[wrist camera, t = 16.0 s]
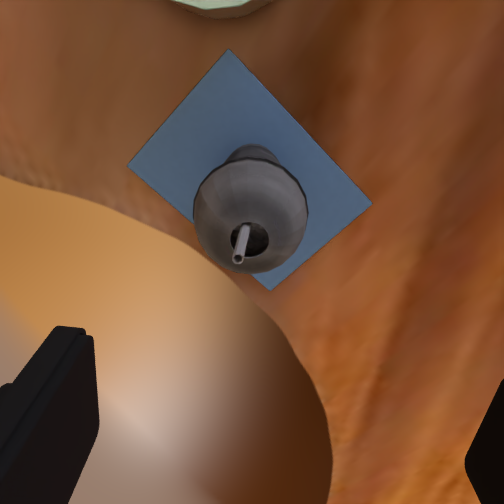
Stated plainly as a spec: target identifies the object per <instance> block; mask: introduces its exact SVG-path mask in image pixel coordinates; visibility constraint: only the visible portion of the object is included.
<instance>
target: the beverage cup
mask: <svg viewBox="0 0 504 504" xmlns="http://www.w3.org/2000/svg"><path fill="white" fill-rule="evenodd" d="M308 214H309V211H308V205H307V198H306V194H305V192H304V190H303V189H302V187H301V185H300V183H299V181H298V179H297V178H296V177H294V176H293V175H292V174H291V173H290V172H289V171H288V170H287V169H286V168H285V167H283V166H282V165H281V164H280V162H279V161H278V159H277V157H276V156H275V155H274V154H273V153H272V152H271V151H270V150H269V149H268V148H266V147H264V146H262V145H260V144H253V143H250V144H246V145H242V146H241V147H239V148H237V149H236V150H235V151H233V152H232V153H231V155H230V156H229V157H228V158H227V159H226V161H225V162H224V163H223V164H222V165H220V166H218V167H216V168H215V169H213V170H212V171H211V172H210V173H209V174H208V175H207V176H206V178H205V179H204V180H203V181H202V182H201V183H200V185H199V188H198V190H197V193H196V195H195V198H194V202H193V220H194V226H195V229H196V233H197V236H198V240H199V242H200V244H201V245H202V247H203V248H204V250H205V251H206V253H207V254H208V256H209V257H210V258H211V259H213V260H214V261H215V262H216V263H218V264H219V265H220V266H222V267H224V268H226V269H229V270H231V271H234V272H236V273H244V274H257V273H263V272H268V271H270V270H272V269H274V268H276V267H278V266H280V265H282V264H283V263H284V262H285V261H286V260H288V259H289V258H290V257H291V256H292V255H293V254H294V253H295V252H296V250H297V248H298V246H299V244H300V243H301V241H302V239H303V237H304V233H305V230H306V225H307V219H308Z"/></svg>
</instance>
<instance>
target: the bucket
mask: <svg viewBox="0 0 504 504" xmlns="http://www.w3.org/2000/svg"><path fill="white" fill-rule="evenodd" d="M171 1H172V2H174V3H176V4H177V5H179V6H180V7H182V8H183V9H185V10H187V11H189V12H192V13H195V14H198V15H201V16H205V17H209V18H212V19H229V18H236V17H243V16H246V15H248V14H250V13H252V12H254V11H256V10H258V9H259V8H261V7H263V6H264V5H266V4H268V3H269V2H271V1H272V0H171Z"/></svg>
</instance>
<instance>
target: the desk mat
mask: <svg viewBox="0 0 504 504" xmlns="http://www.w3.org/2000/svg"><path fill="white" fill-rule="evenodd" d="M250 143H253V144H260V145H262V146H264V147H266V148H268V149H269V150H270V151H271V152H272V153H273V154H274V155H275V156H276V157H277V159H278V161H279V162H280V164H281V165H282V166H283V167H285V168H286V169H287V170H288V171H289V172H290V173H291V174H292V175H293V176H294V177H296V178H297V179H298V181H299V183H300V185H301V187H302V189H303V190H304V192H305V194H306V198H307V205H308V211H309V214H308V219H307V225H306V230H305V233H304V237H303V239H302V241H301V243H300V244H299V246H298V248H297V250H296V252H295V253H294V254H293V255H292V256H291V257H290V258H289V259H288V260H286V261H285V262H284V263H283V264H282V265H280V266H278V267H276V268H274V269H272V270H270V271H268V272H263V273H257V274H251V275H252V276H253V277H254V278H256V279H257V280H258V281H259V282H260V283H261V284H262V285H264V286H265V287H266V288H267V289H268V290H269V291H271V290H272V289H273V288H274V287H276V286H277V285H278V284H279V283H280V282H281V281H283V280H284V279H285V278H286V277H287V276H289V275H290V274H291V273H292V272H293V271H294V270H296V269H297V268H298V267H299V266H300V265H301V264H303V263H304V262H305V261H306V260H307V259H308V258H310V257H311V256H312V255H313V254H314V253H316V252H317V251H318V250H319V249H320V248H321V247H323V246H324V245H325V244H326V243H327V242H328V241H330V240H331V239H332V238H333V237H334V236H335V235H337V234H338V233H339V232H340V231H341V230H342V229H344V228H345V227H346V226H347V225H348V224H350V223H351V222H352V221H353V220H354V219H355V218H357V217H358V216H359V215H360V214H361V213H362V212H364V211H365V210H366V209H367V208H368V207H369V206H371V205H372V202H371V201H370V200H369V199H368V198H367V197H366V196H365V195H364V193H363V192H362V191H361V190H360V189H359V188H358V187H357V186H356V185H355V184H354V183H353V182H352V181H351V179H350V178H349V177H348V176H347V175H346V174H345V173H344V172H343V171H342V170H341V169H340V168H339V167H338V165H337V164H336V163H335V162H334V161H333V160H332V159H331V158H330V157H329V156H328V155H327V154H326V153H325V152H324V150H323V149H322V148H321V147H320V146H319V145H318V144H317V143H316V142H315V141H314V140H313V139H312V138H311V136H310V135H309V134H308V133H307V132H306V131H305V130H304V129H303V128H302V127H301V126H300V125H299V124H298V122H297V121H296V120H295V119H294V118H293V117H292V116H291V115H290V114H289V113H288V112H287V111H286V110H285V108H284V107H283V106H282V105H281V104H280V103H279V102H278V101H277V100H276V99H275V98H274V97H273V96H272V95H271V93H270V92H269V91H268V90H267V89H266V88H265V87H264V86H263V85H262V84H261V83H260V82H259V81H258V79H257V78H256V77H255V76H254V75H253V74H252V73H251V72H250V71H249V70H248V69H247V68H246V67H245V65H244V64H243V63H242V62H241V61H240V60H239V59H238V58H237V57H236V56H235V55H234V54H233V53H232V51H231V50H230V49H227V50H226V52H225V53H224V54H223V55H222V56H221V57H220V58H219V60H218V61H217V62H216V63H215V64H214V65H213V67H212V68H211V69H210V70H209V71H208V72H207V74H206V75H205V76H204V77H203V78H202V79H201V80H200V82H199V83H198V84H197V85H196V86H195V87H194V89H193V90H192V91H191V92H190V93H189V94H188V95H187V97H186V98H185V99H184V100H183V101H182V102H181V104H180V105H179V106H178V107H177V108H176V109H175V110H174V112H173V113H172V114H171V115H170V116H169V117H168V119H167V120H166V121H165V122H164V123H163V124H162V125H161V127H160V128H159V129H158V130H157V131H156V132H155V134H154V135H153V136H152V137H151V138H150V139H149V140H148V142H147V143H146V144H145V145H144V146H143V147H142V149H141V150H140V151H139V152H138V153H137V154H136V155H135V157H134V158H133V159H132V160H131V161H130V162H129V164H128V165H127V167H129V168H130V169H131V170H132V171H133V172H134V173H135V174H137V175H138V176H139V177H140V178H141V179H142V180H143V181H145V182H146V183H147V184H148V185H149V186H150V187H151V188H153V189H154V190H155V191H156V192H157V193H158V194H159V195H161V196H162V197H163V198H164V199H165V200H166V201H167V202H169V203H170V204H171V205H172V206H173V207H174V208H175V209H177V210H178V211H179V212H180V213H181V214H182V215H183V216H185V217H186V218H187V219H188V220H189V221H190V222H192V223H193V224H194V220H193V202H194V198H195V195H196V193H197V190H198V188H199V185H200V183H201V182H202V181H203V180H204V179H205V178H206V176H207V175H208V174H209V173H210V172H211V171H212V170H213V169H215V168H216V167H218V166H220V165H222V164H223V163H224V162H225V161H226V159H227V158H228V157H229V156H230V155H231V153H232V152H233V151H235V150H236V149H237V148H239V147H241V146H242V145H246V144H250Z"/></svg>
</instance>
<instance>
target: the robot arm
mask: <svg viewBox="0 0 504 504" xmlns="http://www.w3.org/2000/svg"><path fill="white" fill-rule="evenodd" d="M98 430H99V408H98V394H97V382H96V368H95V353H94V340H93V337H92V336H90V335H86V331H85V329H83V328H76V327H66V326H56V327H55V328H54V329H53V330H52V331H51V333H50V334H49V335H48V337H47V338H46V339H45V341H44V342H43V343H42V345H41V346H40V347H39V348H38V350H37V351H36V352H35V354H34V355H33V357H32V358H31V359H30V360H29V362H28V363H27V364H26V366H25V367H24V368H23V370H22V371H21V372H20V373H19V375H18V376H17V377H16V379H15V380H14V381H13V383H6V384H5V385H3V386H1V387H0V504H68V502H69V500H70V498H71V496H72V493H73V491H74V488H75V486H76V484H77V482H78V479H79V477H80V474H81V472H82V470H83V468H84V465H85V463H86V461H87V459H88V456H89V454H90V452H91V449H92V447H93V445H94V442H95V440H96V437H97V434H98ZM465 470H466V473H467V476H468V478H469V480H470V482H471V484H472V486H473V488H474V490H475V492H476V494H477V496H478V498H479V500H480V502H481V504H504V379H503V380H502V381H501V383H500V385H499V387H498V390H497V392H496V394H495V396H494V398H493V400H492V402H491V404H490V406H489V408H488V410H487V413H486V415H485V417H484V419H483V421H482V423H481V425H480V427H479V429H478V431H477V433H476V436H475V438H474V440H473V442H472V444H471V446H470V448H469V450H468V452H467V454H466V457H465Z"/></svg>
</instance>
